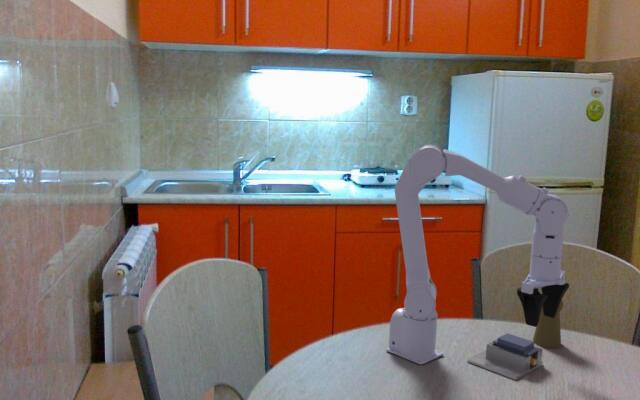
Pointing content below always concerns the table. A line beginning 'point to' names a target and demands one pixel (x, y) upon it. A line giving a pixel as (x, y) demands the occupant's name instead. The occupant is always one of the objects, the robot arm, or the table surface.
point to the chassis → (506, 361)
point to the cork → (548, 330)
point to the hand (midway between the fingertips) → (540, 320)
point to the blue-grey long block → (517, 345)
